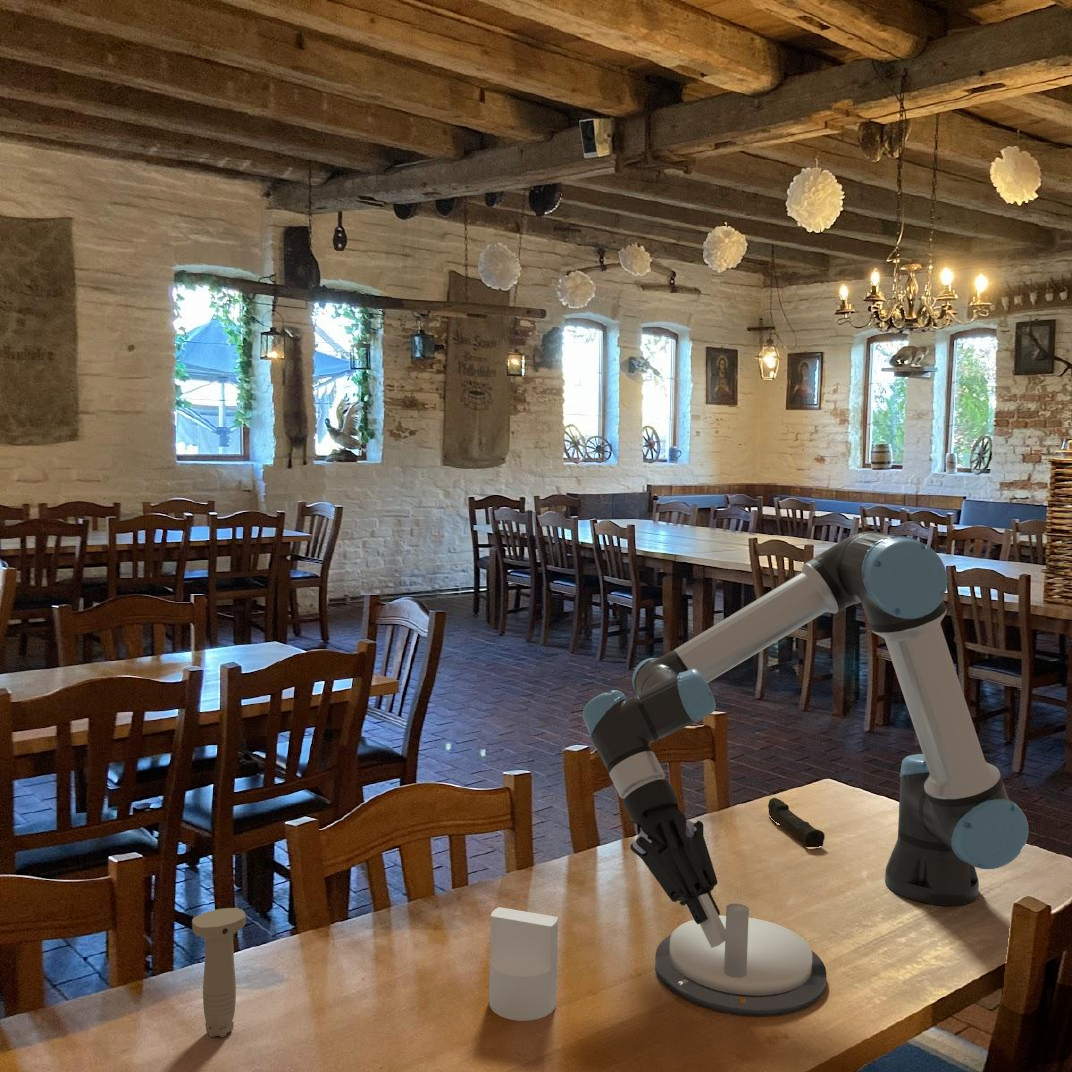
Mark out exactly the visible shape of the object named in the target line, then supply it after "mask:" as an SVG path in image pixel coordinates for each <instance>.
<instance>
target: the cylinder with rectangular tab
mask: <svg viewBox="0 0 1072 1072" xmlns="http://www.w3.org/2000/svg"><path fill="white" fill-rule="evenodd" d="M558 928H559V917H558V916H554V915H548V914H542V913H535V912H530V911H523V910H520V909H519V910H517V909H511V908H507V907H501V906H498V907H497V908H495V909H494V910H492V912H491V914H490V942H489V943H490V947H489V949H490V951H489V1008H490V1009H491V1011H493V1012H494V1014H496V1015H497V1016H500V1017H502V1018H504V1019H508V1020H511V1021H512V1020H513V1021H519V1022H523V1021H524V1022H526V1021H528V1022H529V1021H534V1020H535V1021H536V1020H539V1019H542V1017H543V1018H545V1017H547V1016H548V1014H549V1015H550V1014H552V1013H553V1011H554V1010H555V1009H556V1006H557V986H558V985H557V984H558V983H557V980H558V976H557V975H558V942H559V941H558V936H559V935H558V934H559V931H558V930H559V929H558Z"/></svg>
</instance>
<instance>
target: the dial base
mask: <svg viewBox="0 0 1072 1072" xmlns="http://www.w3.org/2000/svg"><path fill="white" fill-rule="evenodd" d="M671 935H672V933H671V934H670V935H668V936H667V937H666V936H665V938H663V940H662V941H661V942H660V943H659V945H658V946H657V948H656V949H655V959H654V960H655V961H654V962H655V963H654V966H655V968H654V969H655V972H656V975H657V977H658V979H659V980H660V982H661V983H662V984H663V985H664V986H665V987H666V988H667V989H668V990H669V989H670V990H669V991H671V992H672V993H673V994H675V995H677V996H678V997H679V998H681V997H682V998H681V999H683V1000H685V1001H687V1002H688V1003H692V1004H694V1005H697V1006H698V1005H699V1007H702V1008H704V1007H705V1009H707V1008H708V1010H710V1009H712V1010H711V1011H714V1010H716V1011H715V1012H719V1013H723V1014H728V1015H734V1016H735V1015H736V1016H743V1017H775V1016H783V1015H784V1016H785V1015H787V1014H788V1015H789V1014H793V1013H796V1012H800V1011H802V1010H806V1009H807V1008H809V1007H811V1006H813V1005H814V1004H815V1003H817V1002H818V1001H819V1000H820V999H821V998H822V996H823V995H825V991H826V987H827V986H826V985H827V969H826V966H825V964H824V962H823V961H822V959H821V958H820V957H819V955H817V953H816V952H814V951H813V950H812V949H811V951H812V972H811V975H810V977H809V979H808V980H807V981H806V982H805V983H804V984H803V985H801V986H800V987H798V988H796V989H793V990H791V991H788V992H784V993H780V994H773V995H760V996H752V995H739V994H732V993H726V992H722V991H718V990H714V989H711V988H708V987H705V986H703V985H700V984H698V983H696V982H694V981H692V980H690V979H688V978H687V977H685V976H684V975H682V974H681V973H680V972H679V971H678V970H677V969H676V968H675V967H674V965H673V964H672V962H671V960H670V954H669V953H670V937H671Z"/></svg>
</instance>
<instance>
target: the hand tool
mask: <svg viewBox="0 0 1072 1072" xmlns="http://www.w3.org/2000/svg"><path fill="white" fill-rule="evenodd" d="M789 807H790V806H789V805H788V804H787V803H785V802H784V801H782V800H781V799H778V798H777V797H772V798H770V799H769V800H768V804H767V808H768V815H770V816H771V818H772V819H773V820H774V821H775V822H777V823H779V824H780V825H781V827H782V826H783V827H782V828H783V829H785V830H786V831H787V832H788V833H790V834H792V835H793V836H794V837H795V838H796V837H797V838H796V839H798V840H799V841H800V842H801V841H802V844H804V843H805V844H804V848H806V847H819V846H822V847H823V846H824V842H825V837H826V836H825V832H823V830H820V829H816V828H815V827H814V826H812V825H811V824H810V823H809V822H808V821H805V820H803V819H802V818H800V817H799V816H797V815H796V814H795V813H794V812H792V811H791V810H790V809H789ZM771 818H770V819H771Z"/></svg>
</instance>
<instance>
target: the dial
mask: <svg viewBox="0 0 1072 1072" xmlns="http://www.w3.org/2000/svg"><path fill="white" fill-rule="evenodd" d="M749 914H750V908H749V907H748V906H746V905H744V904H742V903H730V904H727V906H725V915H719V917H720V919H721V921H722V923H723V925H724V927H725V929H726V931H725V941H724V942H723V943H721V944H720V945H718V946H716V947H713V948H711V946H710V944H709V942H708V940H707V938H706V936H705V934H704V932H703V930H702V928H701V926H700V924H697V923H696V922H695V920H694V919H690V920H689V921H686V922H684V923H682V924H679V926H677V928H675V929H674V930H673V931H672V932H671V934H672V935H671V934H670V935H671V937H670V953H669V954H670V960H671V962H672V964H673V965H674V967H675V968H676V969H677V970H678V971H679V972H680V973H681V974H682V975H684V976H685V977H687V978H688V979H690V980H692V981H694V982H696V983H698V984H700V985H703V986H705V987H708V988H711V989H714V990H718V991H722V992H726V993H732V994H739V995H752V996H760V995H773V994H780V993H784V992H788V991H791V990H793V989H796V988H798V987H800V986H801V985H803V984H804V983H805V982H806V981H807V980H808V979H809V977H810V975H811V972H812V951H813V950H812V949H811V946H810V945H809V943H808V942H807V941H806V940H805V939H803V937H801V936H800V935H799V934H797V933H796V932H794V931H793V930H790V929H788V928H786V927H785V926H782V925H780V924H777V923H774V922H770V921H767V920H763V919H759V918H753V917H750V915H749ZM811 950H812V951H811Z"/></svg>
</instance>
